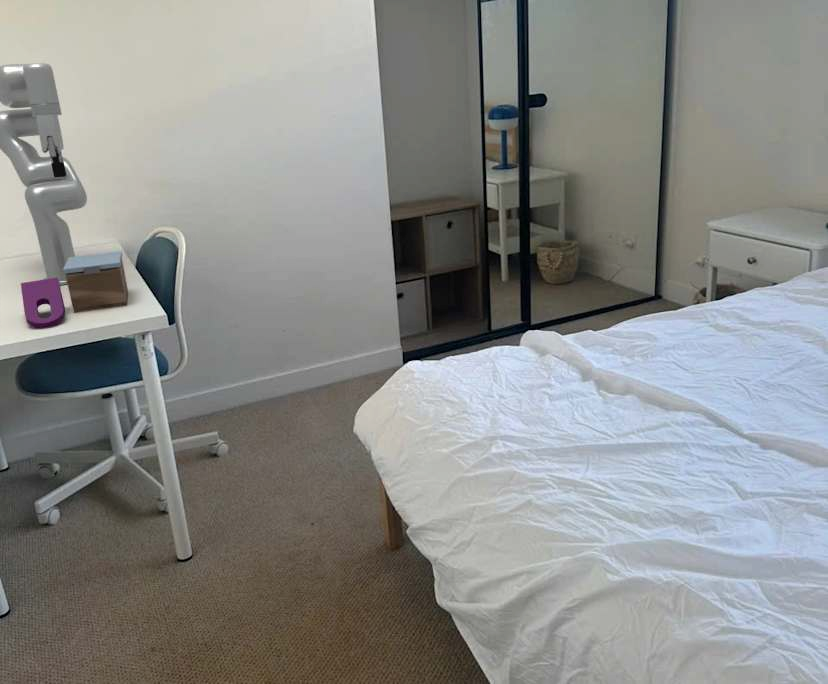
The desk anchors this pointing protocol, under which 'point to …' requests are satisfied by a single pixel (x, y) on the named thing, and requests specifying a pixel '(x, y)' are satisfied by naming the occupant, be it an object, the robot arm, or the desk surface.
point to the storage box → (98, 289)
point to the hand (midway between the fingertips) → (60, 176)
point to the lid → (93, 262)
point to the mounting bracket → (43, 302)
